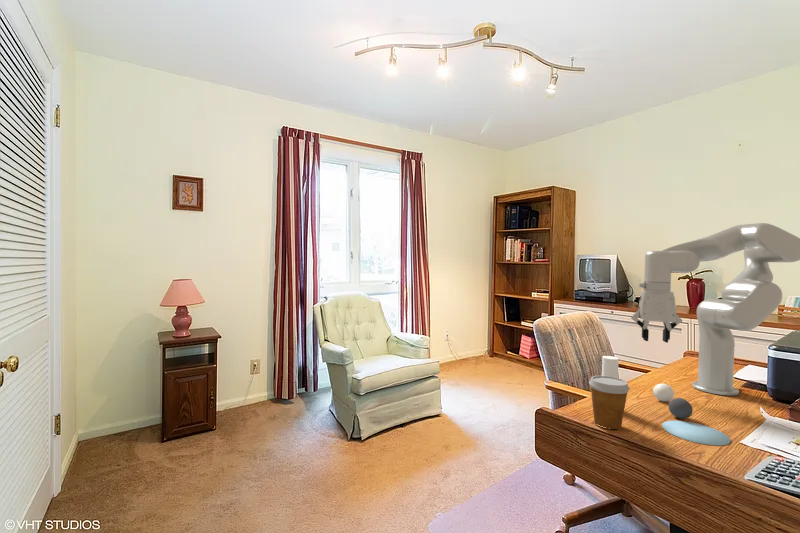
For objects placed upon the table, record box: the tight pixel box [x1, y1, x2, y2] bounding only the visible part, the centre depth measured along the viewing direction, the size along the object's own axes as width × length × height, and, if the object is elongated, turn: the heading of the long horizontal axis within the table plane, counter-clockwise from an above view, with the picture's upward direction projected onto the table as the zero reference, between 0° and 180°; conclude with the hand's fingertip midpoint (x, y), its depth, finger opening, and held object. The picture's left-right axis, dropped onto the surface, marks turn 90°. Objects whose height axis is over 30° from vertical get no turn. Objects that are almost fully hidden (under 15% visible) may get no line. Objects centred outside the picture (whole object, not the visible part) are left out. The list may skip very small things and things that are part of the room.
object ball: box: [668, 397, 694, 420], centre depth 110 cm, size 6×6×6 cm
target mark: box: [661, 420, 731, 447], centre depth 100 cm, size 14×14×1 cm
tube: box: [601, 355, 620, 378], centre depth 116 cm, size 4×4×15 cm
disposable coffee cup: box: [588, 375, 631, 430], centre depth 104 cm, size 10×10×12 cm
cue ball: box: [652, 382, 675, 403], centre depth 123 cm, size 6×6×6 cm
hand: (655, 340), depth 132 cm, fingers open, 5 cm apart
